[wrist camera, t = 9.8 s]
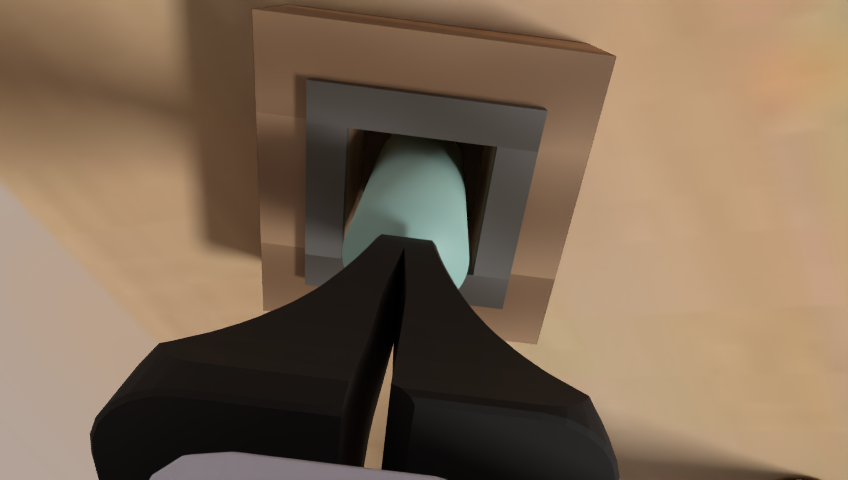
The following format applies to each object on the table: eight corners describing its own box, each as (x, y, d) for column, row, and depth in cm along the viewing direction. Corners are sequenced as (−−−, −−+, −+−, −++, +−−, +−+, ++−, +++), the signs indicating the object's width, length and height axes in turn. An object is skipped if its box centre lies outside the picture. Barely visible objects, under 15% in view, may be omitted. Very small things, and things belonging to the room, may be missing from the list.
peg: (453, 213, 20) (454, 321, 13) (372, 198, 20) (335, 299, 13) (472, 134, 18) (482, 214, 12) (384, 117, 18) (349, 188, 12)
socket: (525, 295, 21) (538, 351, 18) (288, 266, 21) (259, 316, 18) (588, 43, 17) (620, 58, 13) (286, 4, 16) (246, 9, 13)
